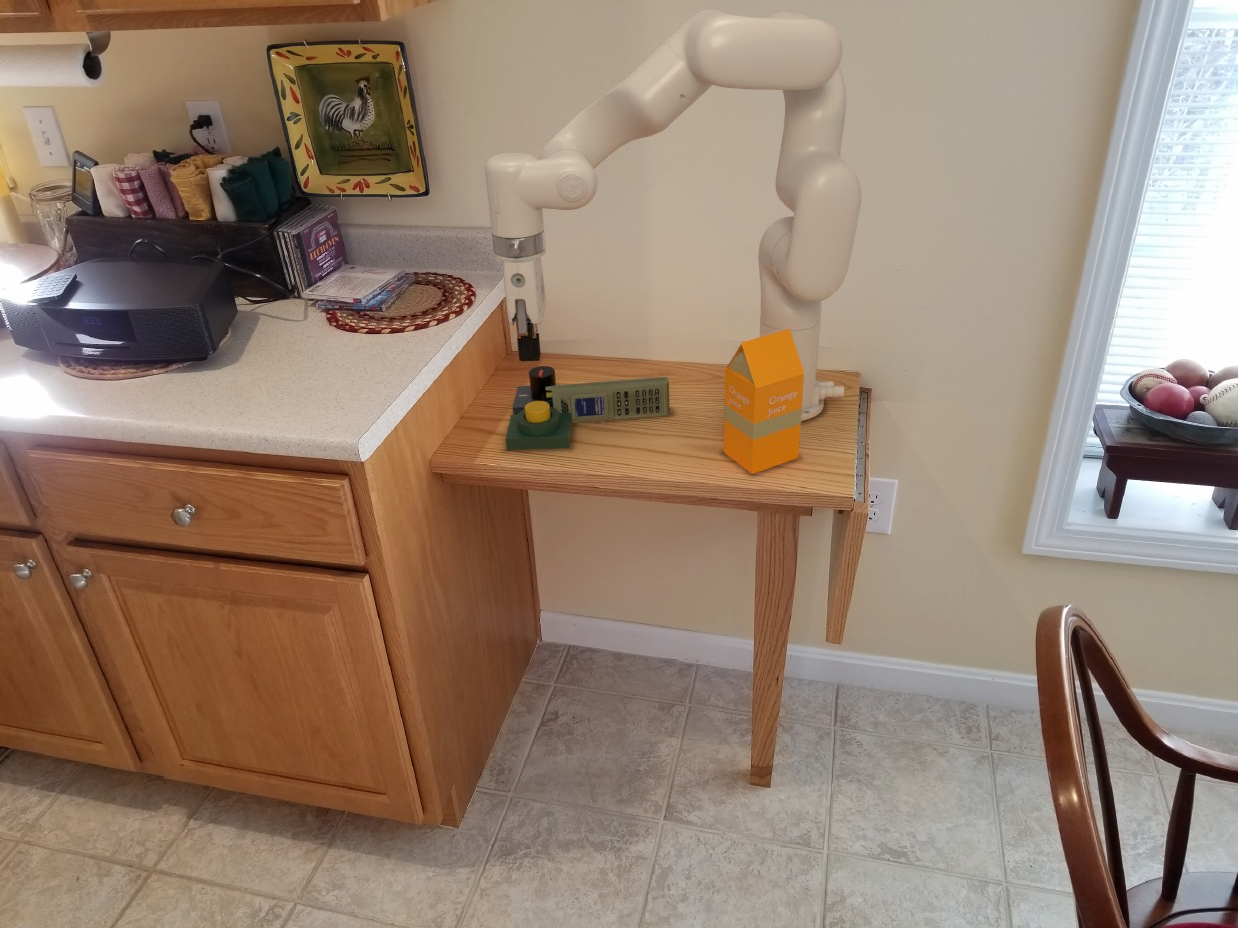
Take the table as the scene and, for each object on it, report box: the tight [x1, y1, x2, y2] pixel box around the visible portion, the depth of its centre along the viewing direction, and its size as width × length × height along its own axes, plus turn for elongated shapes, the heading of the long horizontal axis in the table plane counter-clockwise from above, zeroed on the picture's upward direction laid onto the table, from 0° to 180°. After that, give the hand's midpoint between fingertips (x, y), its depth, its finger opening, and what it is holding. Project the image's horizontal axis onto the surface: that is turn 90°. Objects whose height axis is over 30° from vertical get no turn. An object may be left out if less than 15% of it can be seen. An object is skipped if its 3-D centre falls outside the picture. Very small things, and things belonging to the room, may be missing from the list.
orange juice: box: [723, 329, 804, 475], centre depth 135 cm, size 8×9×20 cm
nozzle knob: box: [528, 365, 557, 401], centre depth 154 cm, size 4×4×5 cm
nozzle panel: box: [512, 383, 567, 415], centre depth 156 cm, size 10×9×3 cm
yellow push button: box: [525, 401, 551, 423], centre depth 146 cm, size 4×4×2 cm
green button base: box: [505, 407, 573, 451], centre depth 147 cm, size 10×8×4 cm
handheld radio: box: [546, 376, 670, 424], centre depth 152 cm, size 7×3×25 cm
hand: (530, 358), depth 141 cm, fingers closed
